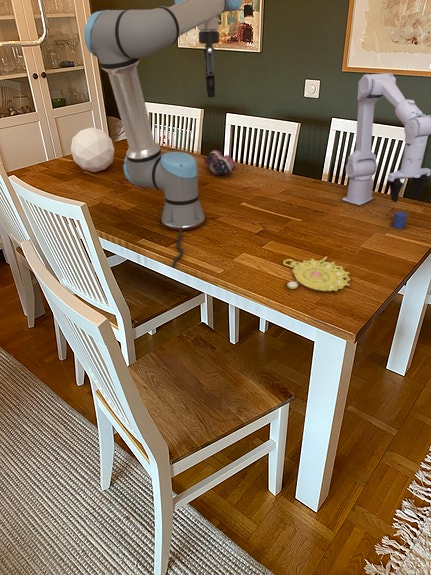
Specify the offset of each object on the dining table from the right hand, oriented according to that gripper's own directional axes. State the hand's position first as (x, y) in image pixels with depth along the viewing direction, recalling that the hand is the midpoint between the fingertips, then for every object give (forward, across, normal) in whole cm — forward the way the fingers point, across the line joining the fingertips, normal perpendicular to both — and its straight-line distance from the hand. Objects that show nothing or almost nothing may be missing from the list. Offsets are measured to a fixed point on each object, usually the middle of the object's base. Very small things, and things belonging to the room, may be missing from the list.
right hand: (404, 199), depth 144 cm
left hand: (-26, -44, +65) cm, 83 cm away
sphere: (+9, -90, +103) cm, 137 cm away
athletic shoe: (+9, -39, +77) cm, 87 cm away
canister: (+9, 0, 0) cm, 9 cm away
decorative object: (+9, -42, -19) cm, 47 cm away
